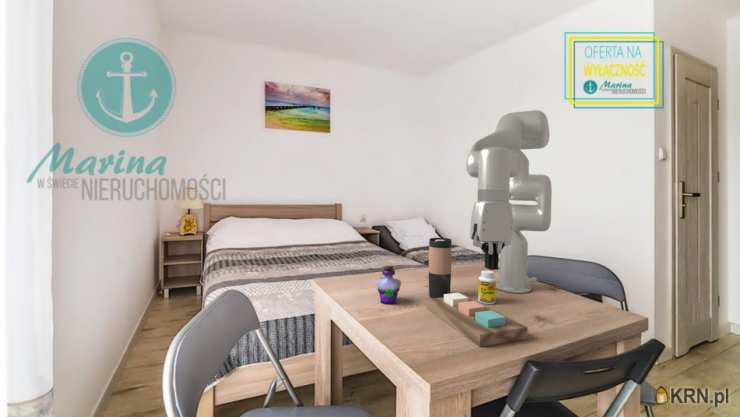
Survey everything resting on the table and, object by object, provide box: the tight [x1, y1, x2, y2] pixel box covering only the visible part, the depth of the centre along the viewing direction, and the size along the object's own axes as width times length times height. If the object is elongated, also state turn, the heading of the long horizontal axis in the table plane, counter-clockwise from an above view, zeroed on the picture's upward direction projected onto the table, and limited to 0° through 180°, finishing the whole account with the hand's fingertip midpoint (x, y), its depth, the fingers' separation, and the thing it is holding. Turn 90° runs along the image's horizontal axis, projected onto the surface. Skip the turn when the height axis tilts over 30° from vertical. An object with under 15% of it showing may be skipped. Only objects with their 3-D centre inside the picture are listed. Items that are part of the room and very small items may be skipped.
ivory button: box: [444, 292, 469, 307], centre depth 104 cm, size 5×5×3 cm
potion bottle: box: [375, 265, 402, 306], centre depth 113 cm, size 9×9×12 cm
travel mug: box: [428, 237, 452, 299], centre depth 118 cm, size 8×8×20 cm
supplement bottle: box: [477, 269, 497, 305], centre depth 113 cm, size 6×6×10 cm
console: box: [425, 294, 529, 348], centre depth 96 cm, size 14×27×3 cm, turn 18°
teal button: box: [475, 310, 505, 328], centre depth 89 cm, size 5×5×3 cm
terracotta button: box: [458, 301, 485, 317], centre depth 96 cm, size 5×5×3 cm
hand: (491, 268), depth 88 cm, fingers closed
